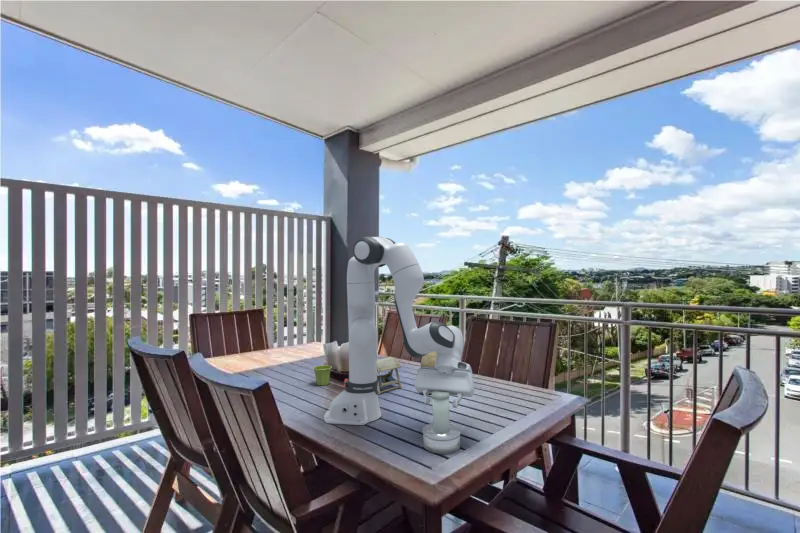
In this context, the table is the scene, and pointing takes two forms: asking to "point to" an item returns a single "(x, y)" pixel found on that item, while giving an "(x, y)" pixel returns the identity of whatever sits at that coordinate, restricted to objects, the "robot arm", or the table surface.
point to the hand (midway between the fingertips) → (440, 405)
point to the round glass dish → (441, 440)
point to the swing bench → (387, 379)
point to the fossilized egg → (429, 359)
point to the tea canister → (440, 412)
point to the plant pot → (322, 374)
